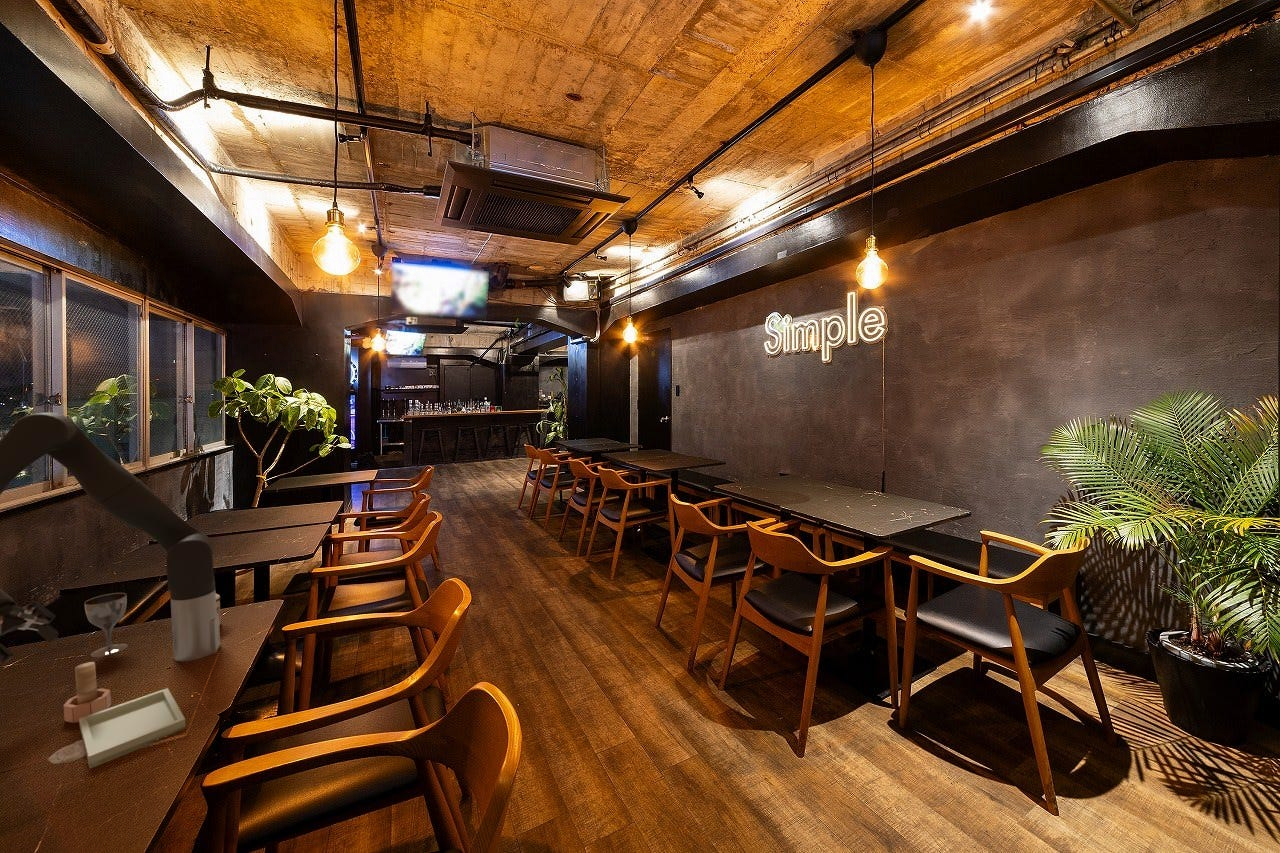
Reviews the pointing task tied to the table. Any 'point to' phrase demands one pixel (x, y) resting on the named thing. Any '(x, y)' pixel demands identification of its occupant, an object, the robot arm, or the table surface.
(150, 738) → the sage tray
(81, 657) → the table surface
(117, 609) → the wine glass
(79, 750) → the flatbread
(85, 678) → the beech pin
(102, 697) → the pin holder cup
